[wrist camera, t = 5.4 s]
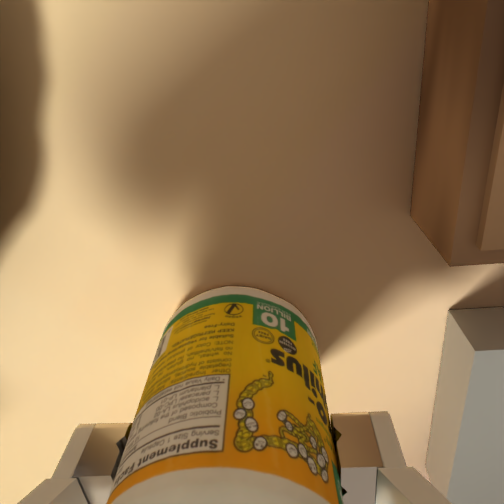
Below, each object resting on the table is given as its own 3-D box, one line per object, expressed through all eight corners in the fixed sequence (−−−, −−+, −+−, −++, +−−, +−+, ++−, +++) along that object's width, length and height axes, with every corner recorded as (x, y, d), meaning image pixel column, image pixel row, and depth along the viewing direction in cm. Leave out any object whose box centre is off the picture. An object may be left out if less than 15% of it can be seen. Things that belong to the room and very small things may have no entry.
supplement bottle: (135, 313, 14) (-57, 728, 6) (280, 256, 13) (306, 675, 5) (209, 415, 16) (149, 824, 8) (338, 374, 15) (429, 804, 7)
